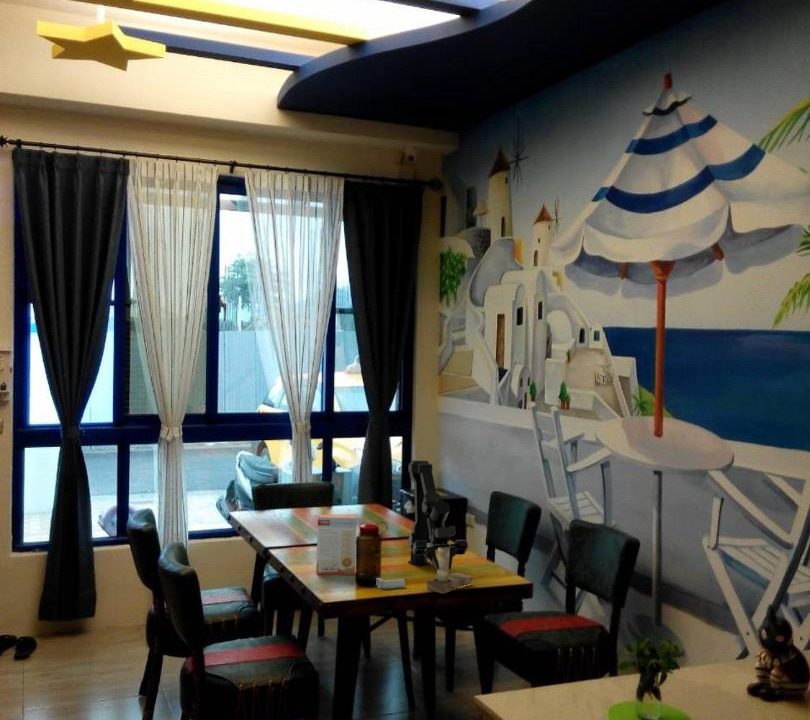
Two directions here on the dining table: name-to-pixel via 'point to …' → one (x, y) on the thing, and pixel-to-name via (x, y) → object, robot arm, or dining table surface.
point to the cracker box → (336, 544)
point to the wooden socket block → (449, 583)
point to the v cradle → (390, 583)
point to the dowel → (443, 564)
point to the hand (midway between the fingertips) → (444, 569)
